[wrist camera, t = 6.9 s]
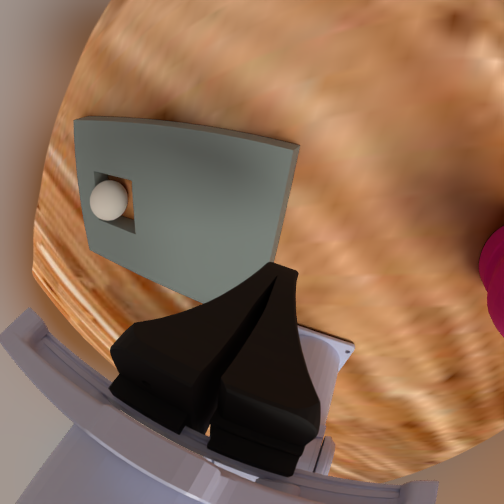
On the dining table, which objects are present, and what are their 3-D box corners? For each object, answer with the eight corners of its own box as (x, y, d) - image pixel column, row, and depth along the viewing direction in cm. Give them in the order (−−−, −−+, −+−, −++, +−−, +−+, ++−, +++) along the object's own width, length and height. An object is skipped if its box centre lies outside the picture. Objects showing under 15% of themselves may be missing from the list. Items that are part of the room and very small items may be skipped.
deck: (261, 310, 27) (254, 324, 25) (100, 241, 32) (89, 249, 30) (300, 145, 18) (293, 150, 16) (88, 116, 22) (73, 119, 21)
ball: (92, 212, 26) (126, 203, 28) (95, 232, 23) (133, 222, 25) (86, 179, 23) (122, 170, 25) (87, 196, 21) (129, 186, 23)
